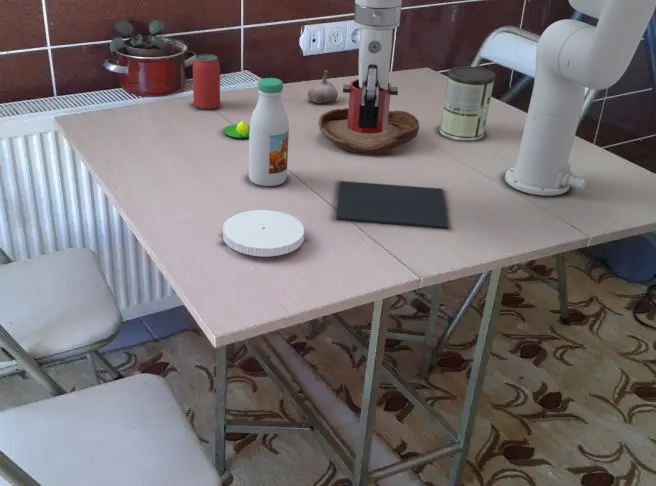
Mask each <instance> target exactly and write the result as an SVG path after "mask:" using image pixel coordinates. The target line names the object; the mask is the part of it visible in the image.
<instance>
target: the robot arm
mask: <svg viewBox="0 0 656 486" xmlns="http://www.w3.org/2000/svg"><path fill="white" fill-rule="evenodd" d="M402 2H403V0H354V10H353V11H354V13H353V25H354V26H355V27H357V28H360V30H359V31H360V32H359V44H358V45H359V46H358V79H359V87H360V88H361V89H362V87H363V89H362V90H363V93H362V104H360V111H359V123H358V126H359V128H373V129H375V128H377V121H378V111H379V105H378V96H379V85H380V88H384V90H386V89H387V88H388V82H389V76H390V68H391V59H392V49H393V48H392V47H393V32H394V31H393V29H397V28H398V27H400V23H401V14H402V4H403V3H402ZM568 3H569V5H570V6H571V8H572V9H574V10H575V11H577V12H579V13H581V14H584V15H587V16H589V17H592V18H594V19H597V20H598V21H597V25H596V26H594V25H593V24H592V25H591V24H589V23H587V22H583V21H581V20H577V19H568V18H567V19H561V20H557V21H555V22H553V23H551V24H550V25H549V26H547V27H546V29H545V30H544V31H543V32H542V34H541V36H540V37H539V39H538V42H537V46H536V52H535V73H534V81H533V88H532V93H531V96H530V97H531V98H530V102H529V106H528V109H527V115H526V117H525V123H524V127H523V131H522V137H521V141H520V145H519V150H518V153H517V158H516V162H515V166H513V167H511V168H509V169H508V170H507V171H506V172H505V175H504V180H505V182H506V183H507V185H509V186H510V187H512V188H513V189H515V190H517V191H519V192H523V193H526V194H530V195H536V196H543V197H544V196H545V197H547V196H548V197H549V196H550V197H551V196H559V195H563V194H565V193H566V192H569V189H570V187H573V188H576V189H580V190H584V188H585V186H586V184H587V179H584V175H583V174H579V173H574V172H573V171H572V170H571V168H572V164H571V163H569V161H570V156H571V152H572V148H573V144H574V140H575V137H576V133H577V130H578V126H579V122H580V119H581V115H582V113H583V109H584V104H585V97H586V88H587V89H590V90H593V91H602V90H606V89H608V88H611V87H612V86H613V85H615V84H616V83H617V82H618V81H619V80H620V79H621V78H622V77H623V75H624V74H625V72H626V71H627V70H628V68H629V65H630V63H631V61H632V59H633V57H634V55H635V53H636V51H637V49H638V47H639V45H640V42H641V40H642V38H643V36H644V34H645V32H646V29H647V28H648V25H649V24H650V21H651V19H652V17H653V14H654V12H655V10H656V0H568ZM365 82H366V84H368V87H367V86H365ZM375 84H377V87H375ZM366 91H367V93H366ZM375 91H376V94H375ZM365 93H366V94H365Z"/></svg>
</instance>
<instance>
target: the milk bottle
mask: <svg viewBox="0 0 656 486" xmlns="http://www.w3.org/2000/svg"><path fill="white" fill-rule="evenodd" d="M283 87H284V83H283V80H281V79H279V78H275V77H266V78H261V79H259V80H258V84H257V88H258V91H257V92H258V94H259V95H258V100H257V103H256V105H255V107H254V110H253V112H252V114H251V117H250V121H249V126H250V132H249V137H248V178H249V180H250V182H251V183H253V184H255V185H258V186H262V187H275V186H280V185H282V184H284V183H285V182H286V180H287V176H288V161H289V160H288V159H289V158H288V157H289V137H290V136H289V134H290V133H289V132H290V131H289V130H290V129H289V128H290V126H289V118H288V114H287V112H286V109H285V107H284V104H283V100H282V94H283V89H284V88H283Z"/></svg>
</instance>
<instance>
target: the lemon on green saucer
mask: <svg viewBox="0 0 656 486" xmlns="http://www.w3.org/2000/svg"><path fill="white" fill-rule="evenodd" d="M222 132H223V134H225V135H227V136H229V137H231V138H234V139H235V138H236V139H246V138H247V139H248V138H249V132H250V124H249V125H248V124H247V122H246V121H244V120H241V121H240V122H238V124H229V125H227V126H225V127H224V128H223V129H222Z"/></svg>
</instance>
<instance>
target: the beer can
mask: <svg viewBox="0 0 656 486" xmlns="http://www.w3.org/2000/svg"><path fill="white" fill-rule="evenodd" d="M193 60H194V61H193V64H192V82H193V83H192V91H193V92H192V93H193V105H194V107H195V108H197V109H199V110H206V111H207V110H214V109H217V108H219V106H220V105H221V66H220V63H219V58H218V56H217V55H215V54H209V53H208V54H207V53H205V54H198V55H196V56H194V59H193Z"/></svg>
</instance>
